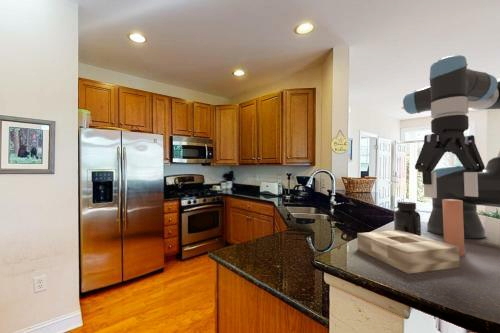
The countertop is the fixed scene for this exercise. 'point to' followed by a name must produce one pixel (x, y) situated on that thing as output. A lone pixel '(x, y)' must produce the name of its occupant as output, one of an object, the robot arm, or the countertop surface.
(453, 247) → the bore block
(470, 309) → the countertop surface
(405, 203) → the supplement bottle
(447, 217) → the terracotta dowel
